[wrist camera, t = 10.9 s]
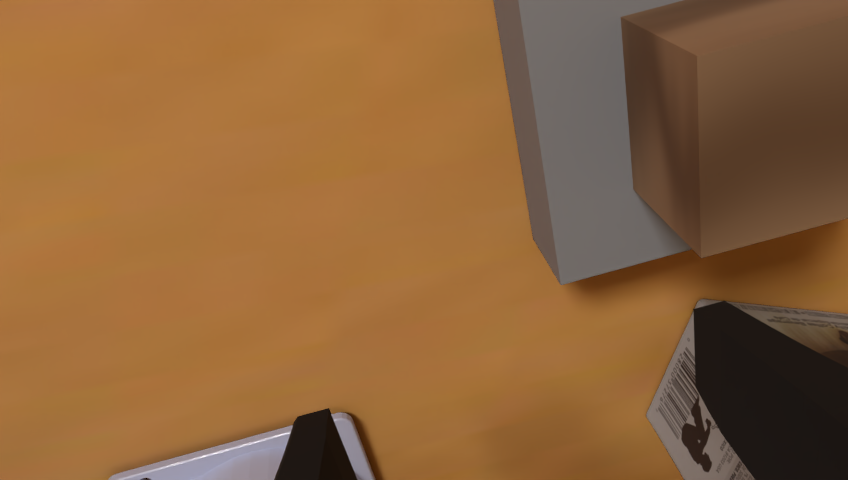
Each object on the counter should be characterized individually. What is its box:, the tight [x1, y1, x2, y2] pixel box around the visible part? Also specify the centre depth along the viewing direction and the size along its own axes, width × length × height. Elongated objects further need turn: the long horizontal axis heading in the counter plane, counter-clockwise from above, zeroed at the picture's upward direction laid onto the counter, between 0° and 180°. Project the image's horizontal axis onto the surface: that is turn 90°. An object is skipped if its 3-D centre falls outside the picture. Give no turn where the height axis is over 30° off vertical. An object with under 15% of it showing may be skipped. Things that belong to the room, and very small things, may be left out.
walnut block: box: [621, 0, 848, 258], centre depth 17 cm, size 5×5×4 cm
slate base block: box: [494, 0, 692, 285], centre depth 20 cm, size 10×10×3 cm
